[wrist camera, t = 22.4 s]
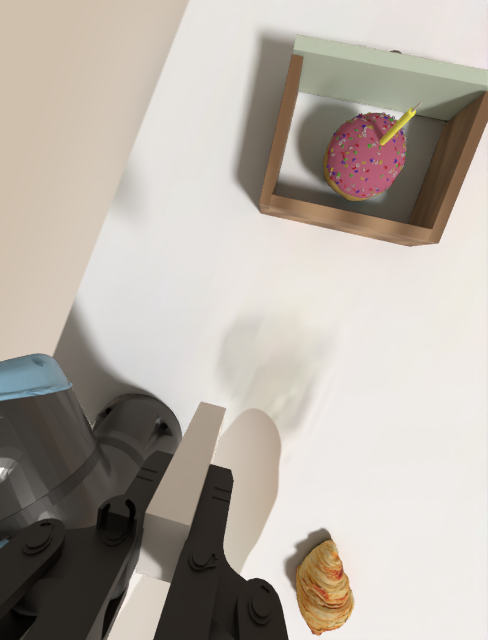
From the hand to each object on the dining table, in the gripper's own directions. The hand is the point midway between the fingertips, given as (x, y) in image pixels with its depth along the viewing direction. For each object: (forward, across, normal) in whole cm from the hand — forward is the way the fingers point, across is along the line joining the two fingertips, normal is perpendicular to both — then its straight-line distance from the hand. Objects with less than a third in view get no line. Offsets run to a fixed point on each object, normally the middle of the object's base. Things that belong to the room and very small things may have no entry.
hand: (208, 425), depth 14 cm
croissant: (+25, +25, -45) cm, 57 cm away
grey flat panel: (+24, +9, +32) cm, 41 cm away
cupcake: (+25, +9, +23) cm, 35 cm away
